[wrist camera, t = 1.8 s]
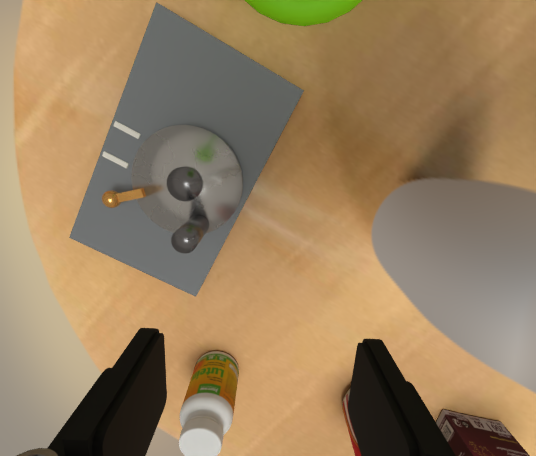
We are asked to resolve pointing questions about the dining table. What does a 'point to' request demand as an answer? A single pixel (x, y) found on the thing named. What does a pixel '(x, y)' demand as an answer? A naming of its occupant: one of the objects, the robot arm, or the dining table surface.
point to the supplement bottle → (208, 404)
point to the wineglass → (303, 10)
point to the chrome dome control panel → (184, 183)
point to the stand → (181, 113)
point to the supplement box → (477, 436)
